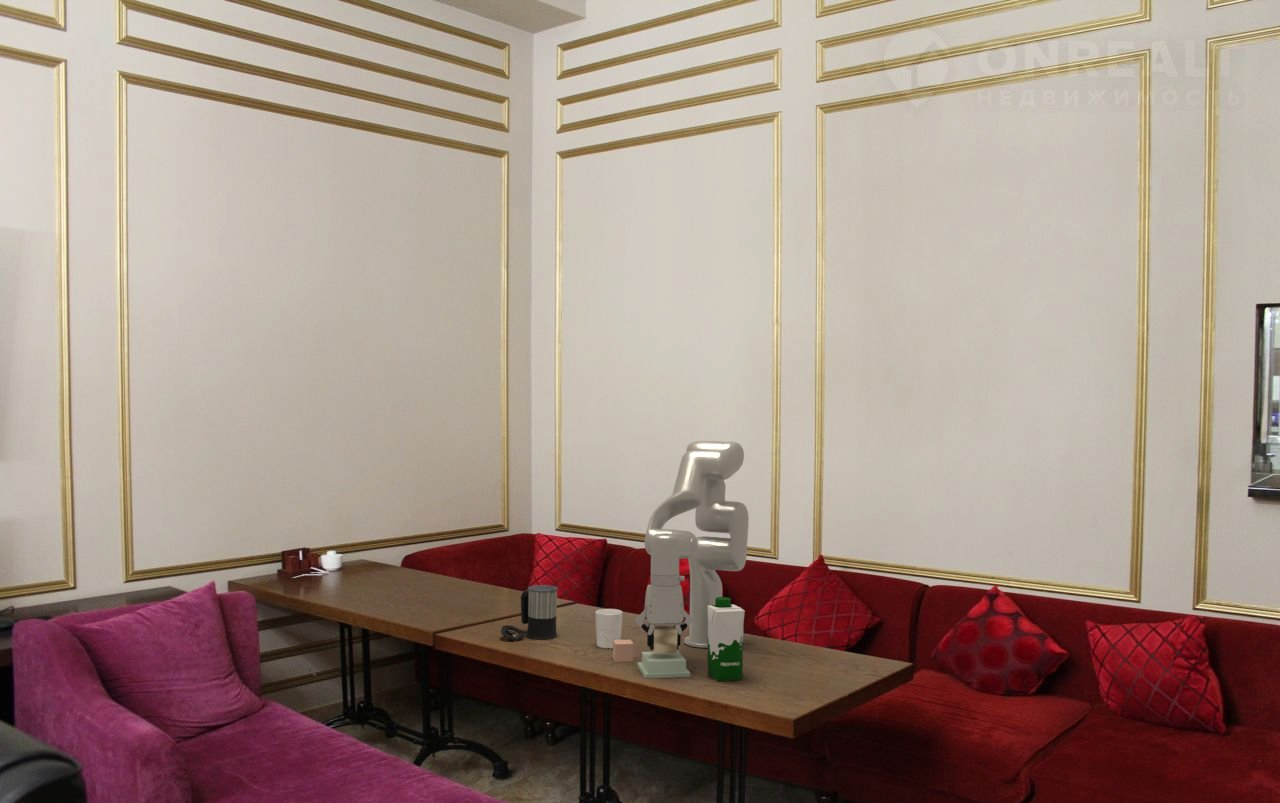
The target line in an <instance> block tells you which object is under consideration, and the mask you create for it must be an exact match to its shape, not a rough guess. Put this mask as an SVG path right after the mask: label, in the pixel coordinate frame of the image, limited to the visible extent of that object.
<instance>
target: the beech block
mask: <svg viewBox="0 0 1280 803" xmlns="http://www.w3.org/2000/svg"><path fill="white" fill-rule="evenodd" d="M653 635H654V650H651V652H654V654H661V653H677V651H678V650H677V629H676V628H675V627H674V624H656V625H655V627H654V630H653Z"/></svg>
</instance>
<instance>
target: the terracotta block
mask: <svg viewBox="0 0 1280 803" xmlns="http://www.w3.org/2000/svg"><path fill="white" fill-rule="evenodd" d="M634 648H635V647H634V642H633V641H632V639H620V640H613V648H612V659H613V661H614V663H633V662H634Z"/></svg>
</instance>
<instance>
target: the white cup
mask: <svg viewBox="0 0 1280 803" xmlns="http://www.w3.org/2000/svg"><path fill="white" fill-rule="evenodd" d="M622 623H623V611H622V609H621V610H620V609H616V608H603V609H597V610H595V632H596V633H595V635H596V646H597V647H598V648H601V649H608V648H609V649H613V640H621V637H622V628H623V626H622V625H623V624H622Z"/></svg>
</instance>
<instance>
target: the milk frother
mask: <svg viewBox="0 0 1280 803" xmlns="http://www.w3.org/2000/svg"><path fill="white" fill-rule="evenodd" d="M558 590H559V587H557V586H554V585H546V584H544V585H543V584H539V585H538V584H537V585H531V586H528V588H527V589H526V590H524V591H523V592H521V595H520V614H521V615H520V616H521V617H520V618H521V624H523V625H527V629H526V630H527V632H526V631H524V630H523V629H520V628H518V627H516V626H513V625H508V624H507V625H503V626H502V627H501V629H500V634H501V635H502V636H503V637H504V638H506V639H507V640H508V641H519V640H522V639H523V638H524V634H526V637H527V638H529V639H533V640H534V639H535V640H551V639H554V638H556V637H558V634H557V613H558V612H557V610H558V609H557V608H558V607H557V606H558ZM516 633H517V634H518V635H516Z"/></svg>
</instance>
